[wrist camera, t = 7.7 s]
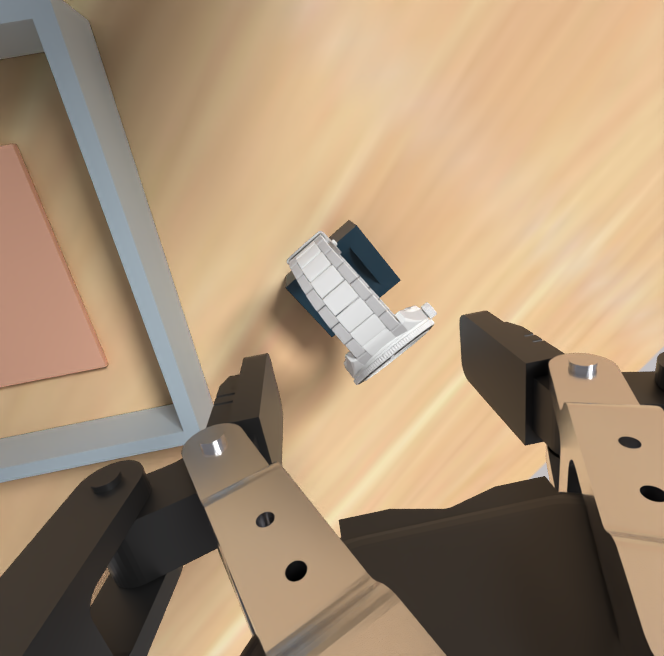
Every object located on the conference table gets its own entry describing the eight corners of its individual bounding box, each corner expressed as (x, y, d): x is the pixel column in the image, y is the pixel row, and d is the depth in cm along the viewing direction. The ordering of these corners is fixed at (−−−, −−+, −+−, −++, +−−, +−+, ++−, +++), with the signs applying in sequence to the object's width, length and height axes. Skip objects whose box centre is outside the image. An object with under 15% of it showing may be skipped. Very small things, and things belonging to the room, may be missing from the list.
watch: (345, 339, 29) (376, 429, 19) (267, 255, 26) (253, 306, 16) (406, 289, 28) (475, 353, 18) (332, 197, 25) (362, 210, 15)
